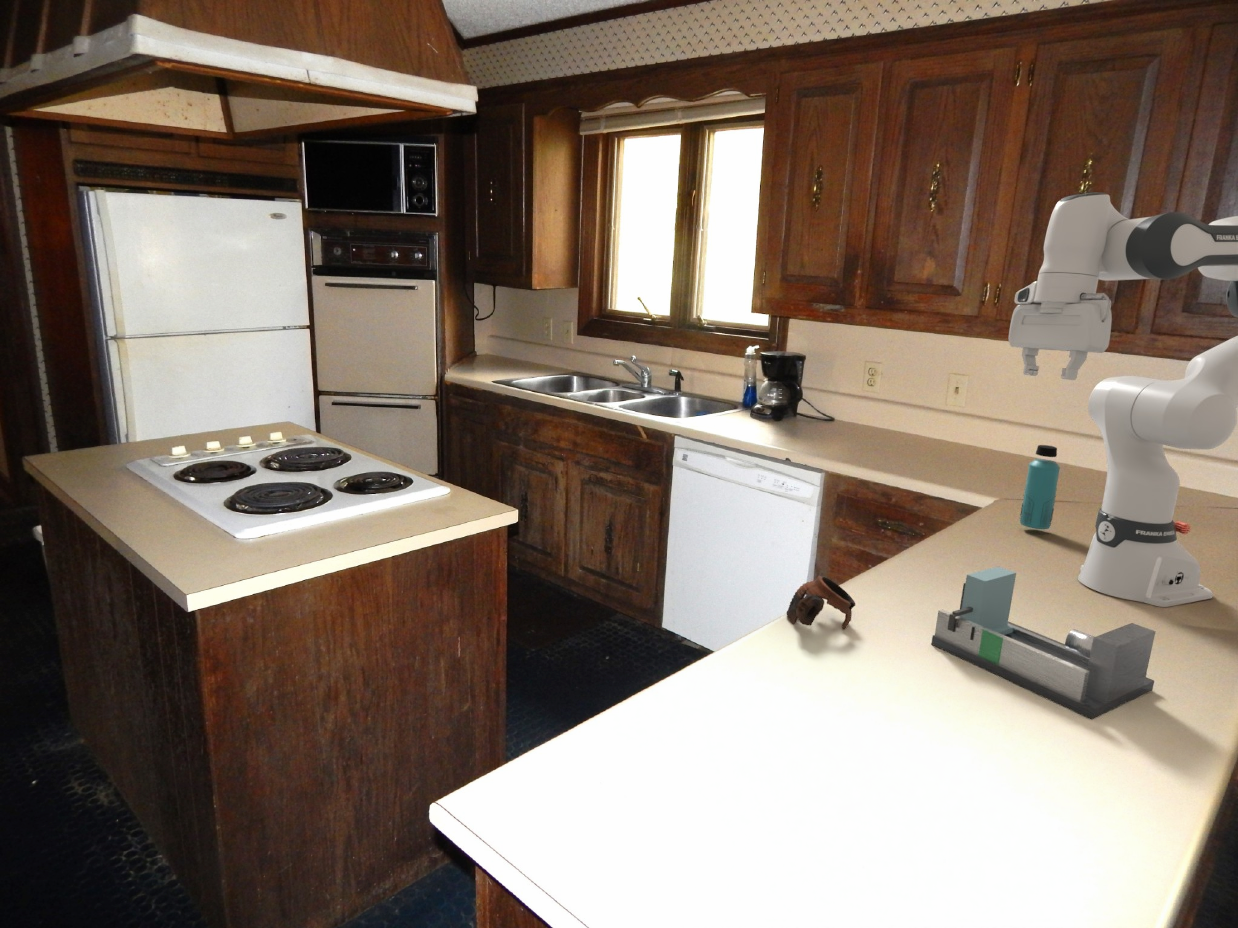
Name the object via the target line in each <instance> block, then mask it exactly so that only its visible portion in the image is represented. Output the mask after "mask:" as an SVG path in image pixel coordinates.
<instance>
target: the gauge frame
mask: <svg viewBox="0 0 1238 928" xmlns="http://www.w3.org/2000/svg"><path fill="white" fill-rule="evenodd" d="M950 614H952V612H950V611H947V610H945V609H938V611H937V617H936V625H935V631H934V634H933V635H932V637H931V646H933V647H935V648H938V649H940V650H942V651H944V652H946V653H948V654H951V655H953V656H955V657H957V658H959V659H961V660H963V661H966V662H967V663H969V664H972V665H973V666H975V667H978V668H980V669H982V670H985V671H987V672H989V673H990V674H993V675H994V676H997V677H999V678H1001V679H1003V680H1006V681H1008V682H1010V683H1012V684H1013V685H1016V686H1019V687H1021V688H1023V689H1024V690H1027V691H1029V692H1031V693H1033V694H1035V695H1037V696H1039V697H1042V698H1045V699H1046V700H1049V701H1050V702H1053V703H1055V704H1057V705H1059V706H1061V707H1063V708H1066V709H1068V710H1070V711H1072V712H1074V713H1076V714H1079V716H1080V715H1081V716H1082V717H1085V718H1086V719H1089V720H1091V721H1092V720H1094V719H1096V718H1098V717H1100V716H1102V715H1105V714H1106V713H1109V712H1110V711H1113V710H1115V709H1117V708H1120V707H1121V706H1123V705H1126V704H1127V703H1129V702H1131V701H1134V700H1135V699H1137V698H1140V697H1142V696H1144V695H1145V694H1148V693H1150V692H1152V691H1153V689H1154V684H1155V680H1154V679H1152V678H1150V677H1147V673H1148V669H1149V662H1150V659H1151V654H1152V651H1153V645H1154V641H1155V635H1156V631H1155V630H1154V629H1150V628H1147V627H1145V626H1141V625H1139V624H1136V623H1135V622H1134V623H1133V622H1131V623H1128V624H1126V625H1123V626H1120V627H1118V628H1115V629H1112V630H1110V631H1107V632H1104V633H1101V634H1098V635H1097V636H1094V635H1091V634H1089V633H1086V632H1083V631H1080V630H1078V629H1076V628H1075V629H1074V628H1073V629H1071V630H1070V631H1069V632H1068V634H1067V636H1066V638H1065V643H1064V642H1063V643H1062V642H1060V641H1058V640H1055V639H1053V638H1051V637H1048V636H1046V635H1043V634H1041V633H1038V632H1036V631H1033V630H1030V629H1028V628H1025V627H1023V626H1021V625H1019V624H1016V623H1013V622H1011V621H1009V620H1008V625H1009V626H1011V627H1013V632H1012V633H1009V634H1006V635H1002V634H1000V633H998V632H995V631H993V630H990V629H988V628H986V627H983V626H981V625H979V624H976V623H974V622H972V621H969V620H967V619H964V618H962V617H960V616H957V617H955V623H954V630H952V631H950V630H948V622H949V616H950Z"/></svg>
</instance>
